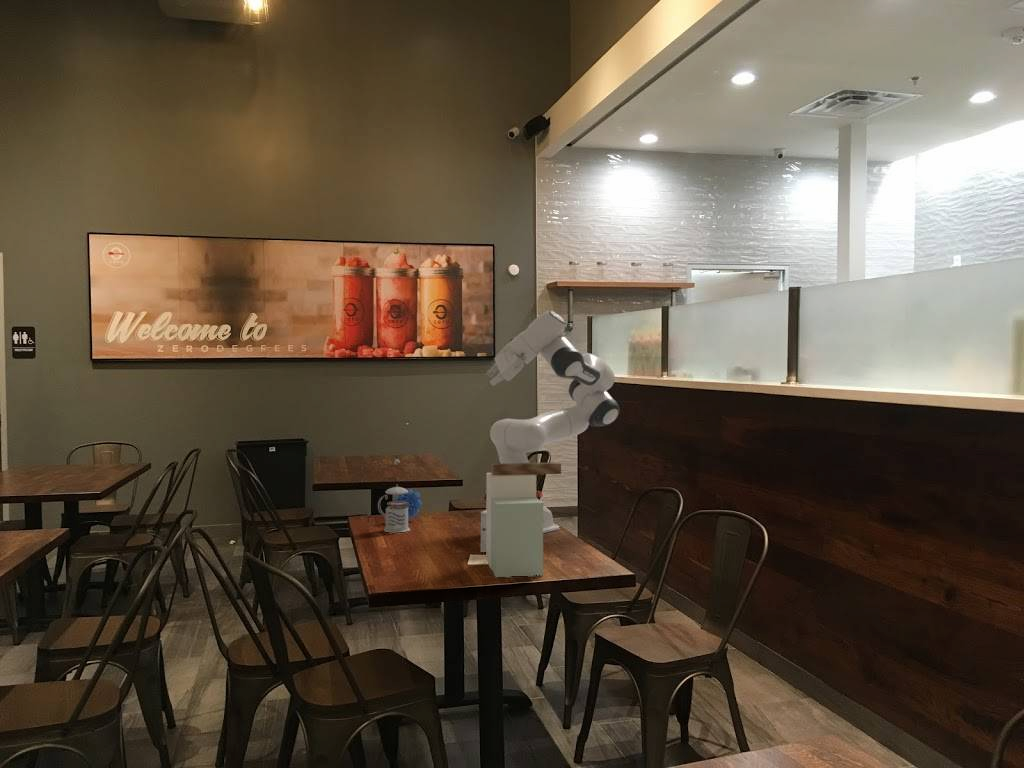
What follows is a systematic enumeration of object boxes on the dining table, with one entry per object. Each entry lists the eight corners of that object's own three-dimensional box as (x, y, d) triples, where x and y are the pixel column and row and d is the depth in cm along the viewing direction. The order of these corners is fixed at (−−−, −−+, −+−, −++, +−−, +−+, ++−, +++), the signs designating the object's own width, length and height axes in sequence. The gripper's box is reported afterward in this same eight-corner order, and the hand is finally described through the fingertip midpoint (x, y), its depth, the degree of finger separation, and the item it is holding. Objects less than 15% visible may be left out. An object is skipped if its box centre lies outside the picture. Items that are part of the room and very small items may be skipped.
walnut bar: (558, 472, 226) (558, 462, 226) (561, 473, 223) (561, 463, 223) (491, 474, 223) (491, 463, 223) (492, 475, 220) (492, 464, 220)
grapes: (419, 518, 292) (419, 486, 291) (423, 521, 285) (423, 489, 285) (389, 520, 288) (388, 488, 288) (391, 523, 282) (391, 491, 281)
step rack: (529, 559, 229) (529, 471, 228) (543, 575, 210) (543, 480, 209) (486, 560, 226) (486, 472, 226) (495, 577, 208) (495, 481, 207)
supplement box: (479, 553, 236) (479, 512, 236) (488, 547, 243) (488, 507, 243) (502, 555, 234) (502, 513, 234) (510, 549, 241) (510, 509, 241)
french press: (406, 534, 264) (406, 461, 263) (373, 532, 266) (373, 460, 265) (414, 528, 273) (414, 458, 273) (383, 527, 275) (383, 457, 275)
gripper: (533, 366, 235) (500, 396, 237) (523, 349, 255) (493, 377, 256) (519, 351, 233) (486, 382, 235) (511, 336, 253) (480, 364, 254)
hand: (489, 379), depth 246 cm, fingers open, 8 cm apart
